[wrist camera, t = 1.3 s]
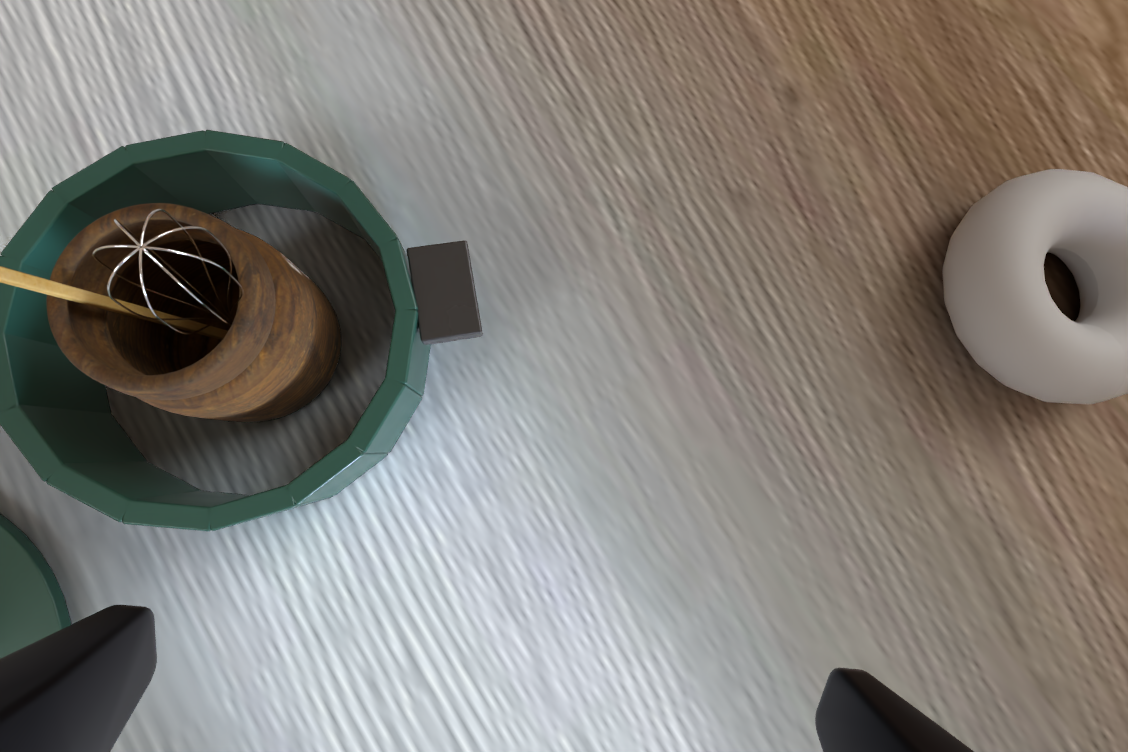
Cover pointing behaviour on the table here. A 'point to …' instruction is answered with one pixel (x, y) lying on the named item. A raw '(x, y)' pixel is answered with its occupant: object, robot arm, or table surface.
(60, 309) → the utensil holder
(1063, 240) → the donut
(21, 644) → the pot lid
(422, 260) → the pot
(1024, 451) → the table surface
